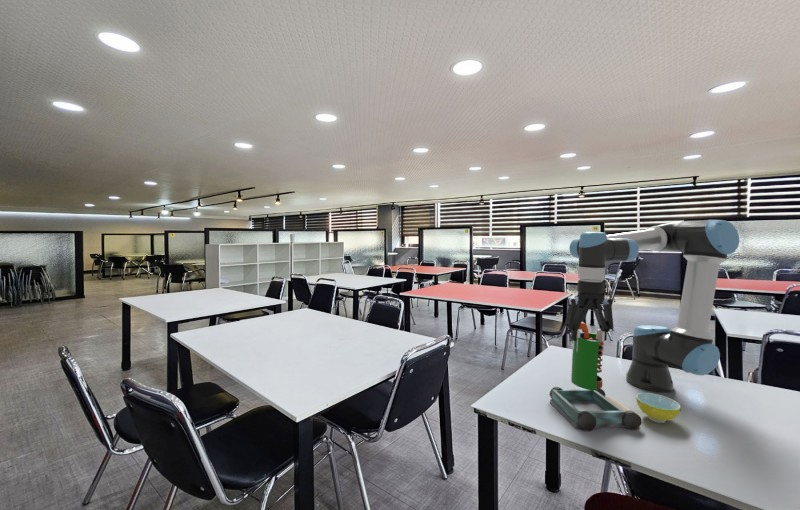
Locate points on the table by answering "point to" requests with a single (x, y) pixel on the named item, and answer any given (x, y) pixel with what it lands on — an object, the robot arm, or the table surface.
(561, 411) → the chassis
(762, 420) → the table surface
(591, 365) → the motor
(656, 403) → the bowl
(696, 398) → the table surface
